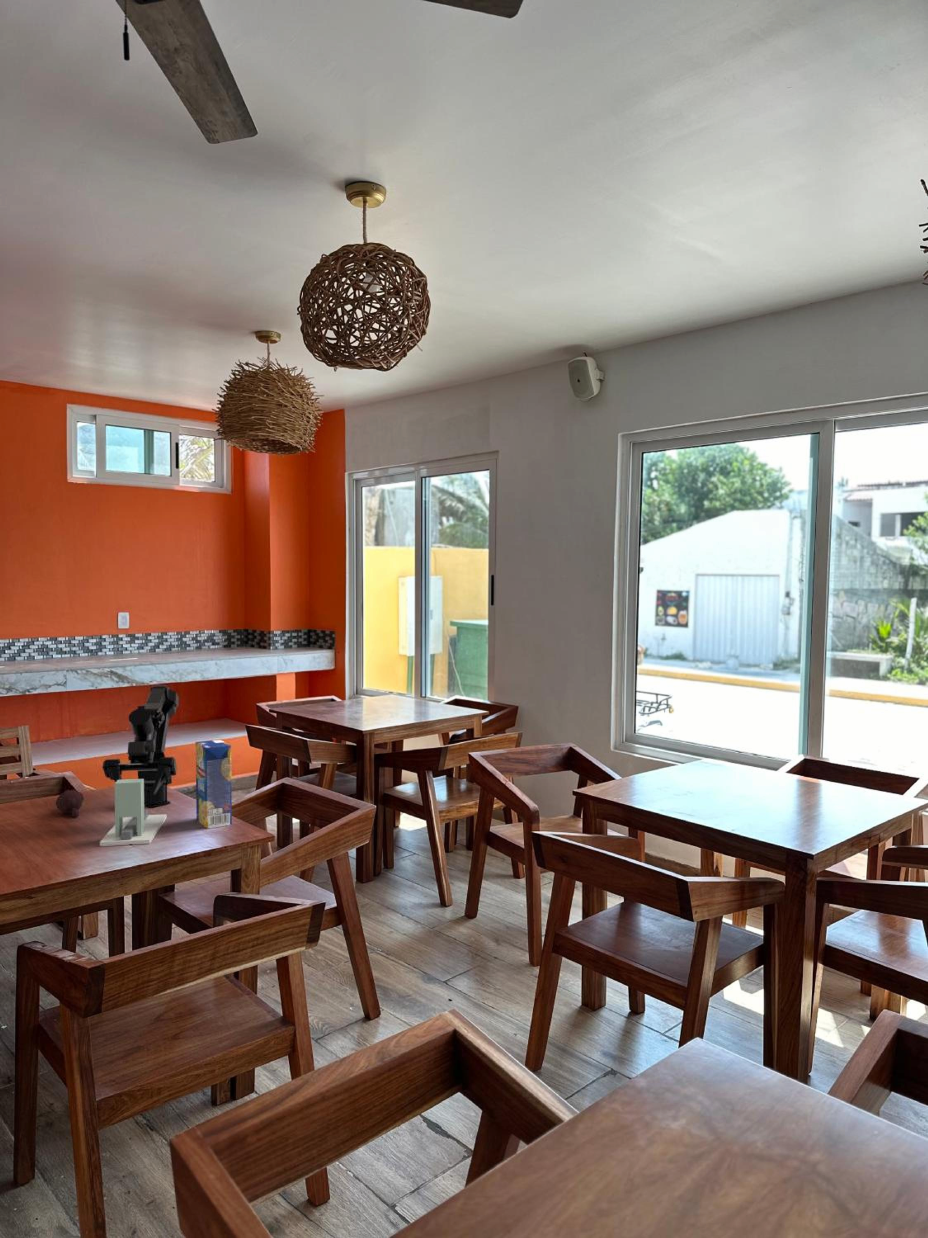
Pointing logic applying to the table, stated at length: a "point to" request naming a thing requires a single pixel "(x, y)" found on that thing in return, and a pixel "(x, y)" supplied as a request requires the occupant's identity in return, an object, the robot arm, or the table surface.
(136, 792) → the clip
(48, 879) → the table surface
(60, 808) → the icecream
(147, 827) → the rail
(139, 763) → the robot arm
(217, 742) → the beverage box
